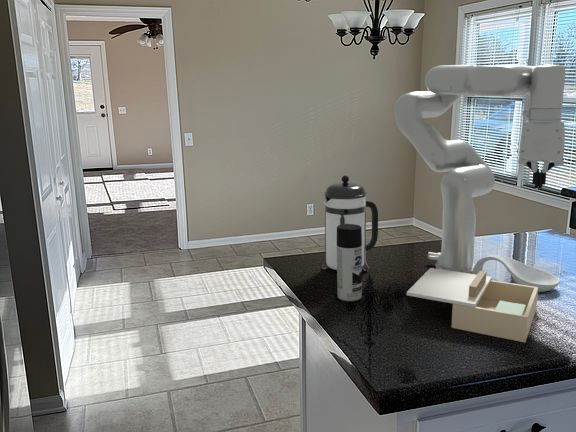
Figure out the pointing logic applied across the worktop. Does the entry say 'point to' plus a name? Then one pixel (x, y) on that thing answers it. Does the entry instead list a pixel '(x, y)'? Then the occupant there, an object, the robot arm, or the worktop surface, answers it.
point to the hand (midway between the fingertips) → (538, 187)
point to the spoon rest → (522, 273)
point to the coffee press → (347, 217)
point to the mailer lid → (451, 286)
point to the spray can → (349, 262)
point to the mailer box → (499, 311)
